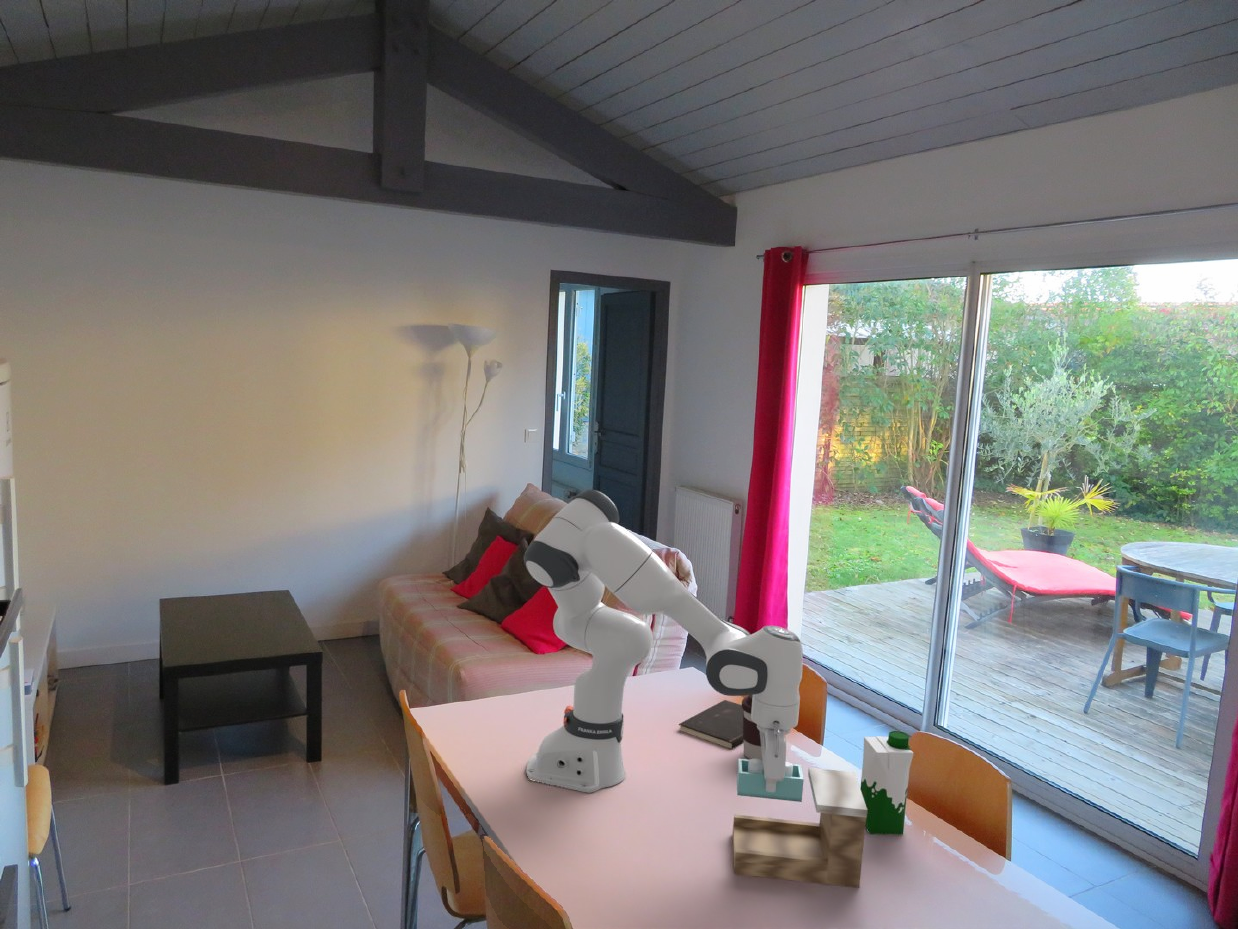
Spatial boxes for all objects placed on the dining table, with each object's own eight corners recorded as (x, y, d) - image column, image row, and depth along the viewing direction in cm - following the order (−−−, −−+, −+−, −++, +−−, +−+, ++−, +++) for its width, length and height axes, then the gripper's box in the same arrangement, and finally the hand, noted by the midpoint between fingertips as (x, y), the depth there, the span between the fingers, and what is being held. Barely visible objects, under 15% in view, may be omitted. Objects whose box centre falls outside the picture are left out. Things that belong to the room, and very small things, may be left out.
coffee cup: (778, 767, 212) (783, 707, 210) (736, 761, 214) (741, 701, 212) (779, 750, 222) (784, 692, 220) (739, 744, 224) (743, 686, 222)
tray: (799, 786, 174) (801, 759, 173) (801, 802, 168) (804, 773, 167) (736, 780, 175) (738, 753, 175) (737, 795, 169) (739, 767, 169)
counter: (734, 875, 167) (740, 796, 165) (732, 833, 182) (738, 760, 180) (859, 889, 165) (867, 810, 163) (847, 845, 179) (854, 772, 178)
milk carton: (909, 837, 184) (918, 744, 182) (866, 836, 183) (875, 743, 181) (892, 815, 193) (901, 726, 190) (851, 814, 192) (860, 725, 190)
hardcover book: (678, 732, 230) (678, 723, 230) (724, 707, 249) (724, 699, 248) (732, 751, 221) (732, 742, 221) (775, 724, 239) (776, 716, 239)
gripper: (796, 736, 159) (789, 810, 161) (787, 694, 179) (782, 759, 181) (760, 733, 160) (754, 806, 162) (756, 691, 180) (751, 756, 182)
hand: (769, 781), depth 172 cm, fingers closed on tray, 6 cm apart
